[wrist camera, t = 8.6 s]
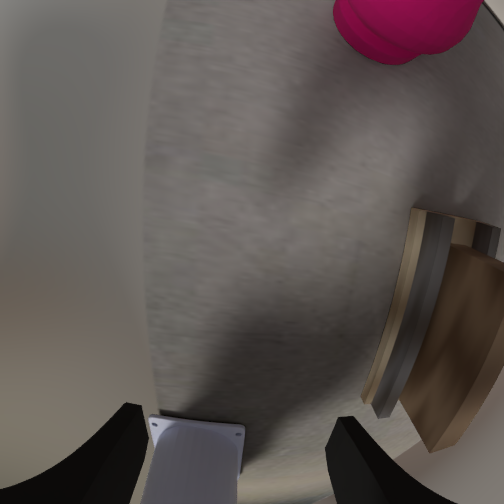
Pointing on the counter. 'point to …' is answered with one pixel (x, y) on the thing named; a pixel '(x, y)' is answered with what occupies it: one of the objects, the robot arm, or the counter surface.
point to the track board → (418, 298)
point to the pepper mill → (403, 26)
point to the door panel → (458, 349)
